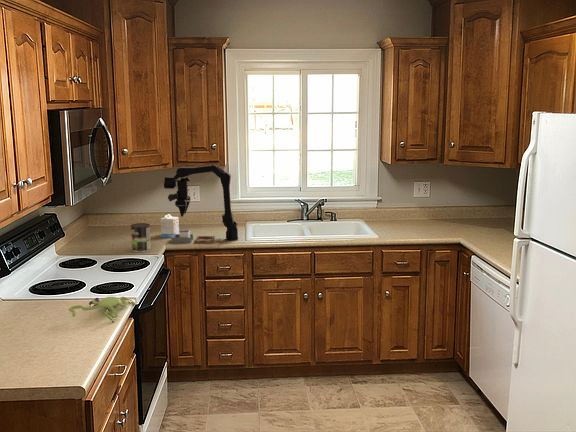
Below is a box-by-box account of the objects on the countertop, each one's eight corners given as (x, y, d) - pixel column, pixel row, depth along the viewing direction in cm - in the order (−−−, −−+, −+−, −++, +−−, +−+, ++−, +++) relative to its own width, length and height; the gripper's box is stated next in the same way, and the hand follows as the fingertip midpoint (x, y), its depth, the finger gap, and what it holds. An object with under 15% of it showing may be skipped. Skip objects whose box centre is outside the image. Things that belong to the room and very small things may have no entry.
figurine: (63, 324, 228) (62, 310, 227) (95, 301, 254) (95, 288, 253) (111, 327, 225) (110, 312, 224) (138, 303, 251) (138, 290, 250)
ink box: (174, 238, 366) (173, 216, 363) (160, 238, 367) (159, 215, 365) (179, 235, 374) (178, 213, 372) (166, 234, 376) (165, 213, 373)
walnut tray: (214, 239, 363) (214, 236, 363) (212, 244, 352) (212, 240, 351) (197, 239, 363) (197, 236, 363) (194, 244, 351) (194, 240, 351)
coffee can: (139, 253, 331) (138, 227, 328) (128, 250, 338) (126, 225, 335) (155, 249, 339) (153, 224, 336) (143, 246, 345) (142, 222, 343)
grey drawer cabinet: (193, 239, 362) (193, 233, 362) (190, 243, 352) (190, 237, 351) (174, 239, 362) (174, 234, 362) (171, 244, 352) (171, 238, 351)
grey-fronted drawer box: (190, 239, 361) (190, 228, 359) (188, 242, 354) (188, 231, 352) (181, 239, 361) (181, 228, 359) (179, 242, 354) (179, 231, 352)
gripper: (171, 186, 366) (172, 212, 369) (165, 191, 348) (166, 218, 351) (190, 186, 367) (191, 212, 369) (185, 191, 348) (186, 218, 351)
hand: (183, 215), depth 360 cm, fingers open, 9 cm apart
